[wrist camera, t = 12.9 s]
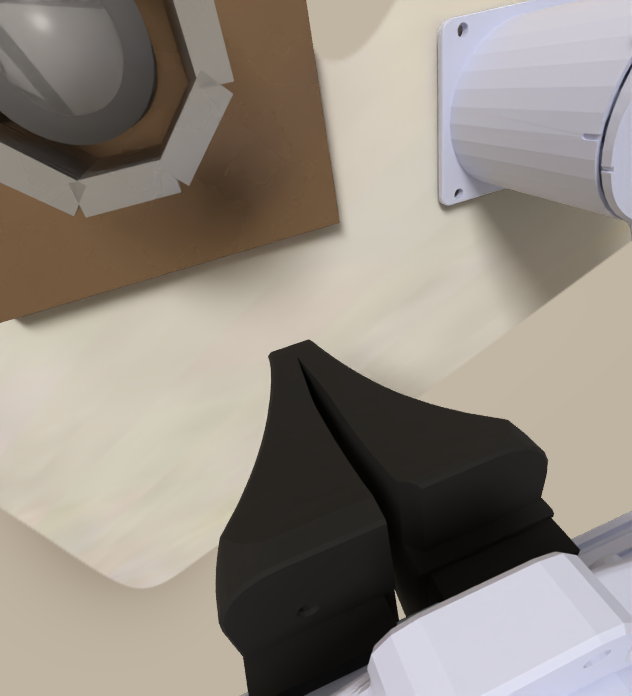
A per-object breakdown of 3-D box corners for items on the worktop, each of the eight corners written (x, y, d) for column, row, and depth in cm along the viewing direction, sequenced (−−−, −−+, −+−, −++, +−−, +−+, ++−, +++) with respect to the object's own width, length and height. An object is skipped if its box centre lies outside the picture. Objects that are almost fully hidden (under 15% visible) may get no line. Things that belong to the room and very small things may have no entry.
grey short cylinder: (118, -41, 13) (94, -106, 9) (178, 112, 15) (181, 117, 11) (-21, -4, 12) (-114, -53, 8) (65, 148, 15) (26, 166, 11)
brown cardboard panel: (244, -339, 11) (303, -659, 6) (332, 217, 21) (384, 254, 16) (-447, -296, 9) (-1168, -756, 4) (5, 313, 18) (-52, 392, 13)
